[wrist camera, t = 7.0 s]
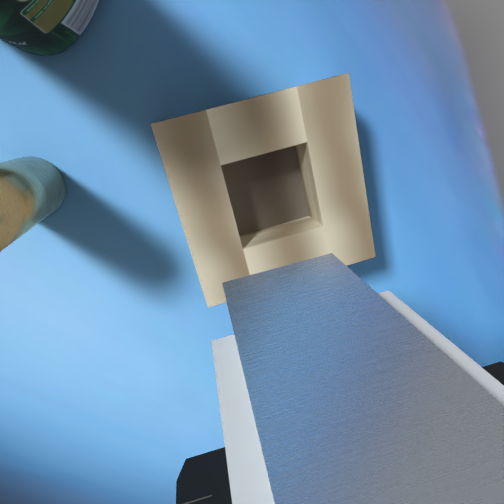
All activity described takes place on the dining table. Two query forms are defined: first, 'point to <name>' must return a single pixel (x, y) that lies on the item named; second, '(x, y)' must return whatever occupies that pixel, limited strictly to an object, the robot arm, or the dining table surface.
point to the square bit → (358, 395)
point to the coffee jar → (44, 23)
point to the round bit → (27, 195)
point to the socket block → (268, 182)
